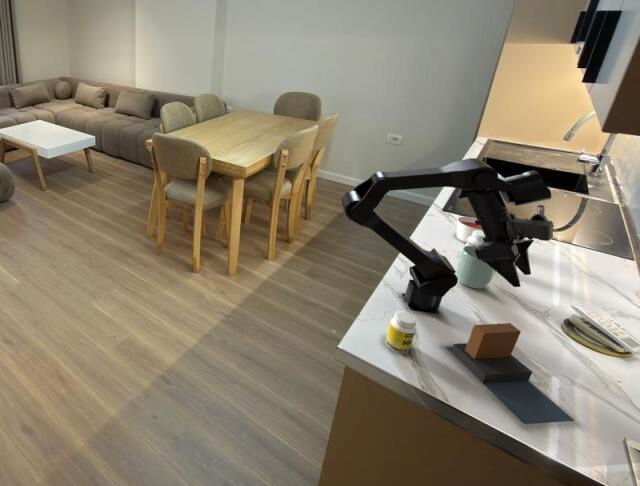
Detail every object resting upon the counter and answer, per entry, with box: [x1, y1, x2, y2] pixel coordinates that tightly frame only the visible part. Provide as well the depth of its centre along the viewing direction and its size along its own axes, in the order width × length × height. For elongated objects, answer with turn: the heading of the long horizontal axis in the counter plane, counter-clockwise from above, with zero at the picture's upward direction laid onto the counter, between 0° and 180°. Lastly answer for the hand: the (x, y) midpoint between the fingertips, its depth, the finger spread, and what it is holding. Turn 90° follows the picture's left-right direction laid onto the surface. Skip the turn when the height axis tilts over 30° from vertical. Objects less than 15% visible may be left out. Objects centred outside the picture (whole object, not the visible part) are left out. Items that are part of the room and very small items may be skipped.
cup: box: [455, 245, 496, 289], centre depth 109 cm, size 8×8×10 cm
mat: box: [445, 346, 575, 425], centre depth 81 cm, size 18×10×1 cm, turn 3°
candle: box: [456, 216, 482, 244], centre depth 131 cm, size 9×9×6 cm
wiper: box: [450, 322, 533, 384], centre depth 83 cm, size 8×10×9 cm
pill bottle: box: [465, 230, 487, 247], centre depth 119 cm, size 5×5×10 cm
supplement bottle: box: [384, 310, 417, 354], centre depth 89 cm, size 5×5×8 cm
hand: (522, 280), depth 86 cm, fingers open, 9 cm apart
